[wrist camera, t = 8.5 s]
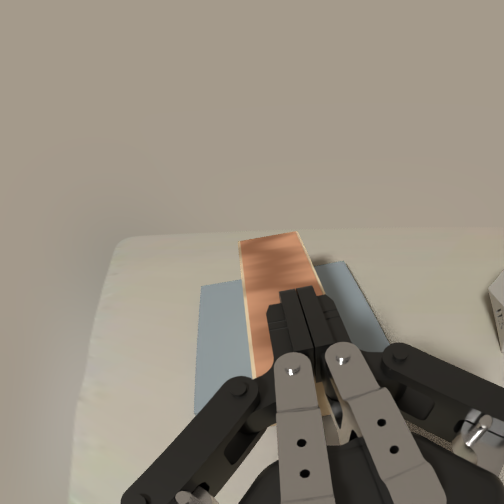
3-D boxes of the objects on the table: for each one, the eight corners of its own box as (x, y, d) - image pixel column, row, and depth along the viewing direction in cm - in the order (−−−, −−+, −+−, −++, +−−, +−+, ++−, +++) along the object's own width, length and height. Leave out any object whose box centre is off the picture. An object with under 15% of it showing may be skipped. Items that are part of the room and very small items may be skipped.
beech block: (347, 410, 17) (301, 279, 29) (354, 359, 14) (297, 230, 26) (265, 427, 17) (247, 289, 29) (252, 380, 14) (237, 240, 26)
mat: (343, 267, 31) (343, 260, 30) (401, 378, 19) (403, 371, 18) (203, 292, 31) (201, 286, 30) (197, 418, 19) (193, 412, 18)
